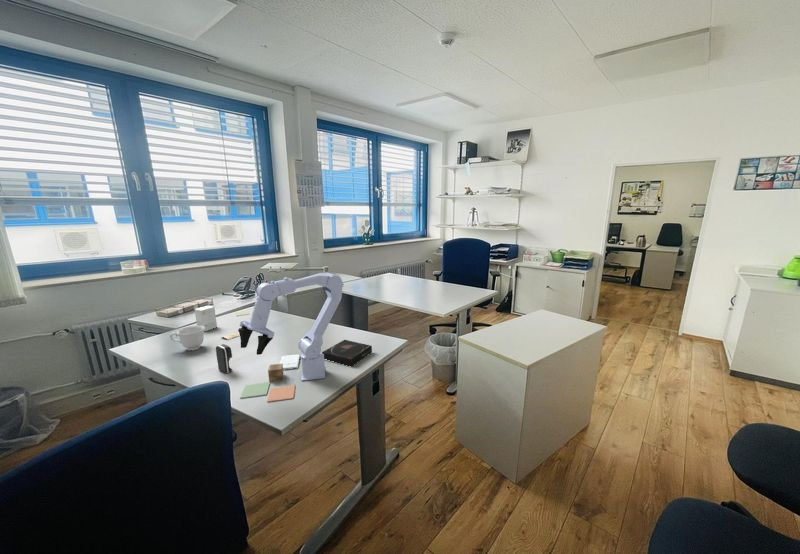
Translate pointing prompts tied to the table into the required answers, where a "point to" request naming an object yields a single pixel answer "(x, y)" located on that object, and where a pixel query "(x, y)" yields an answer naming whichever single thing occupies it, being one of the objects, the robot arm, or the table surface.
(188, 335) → the teacup
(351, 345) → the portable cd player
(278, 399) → the mat
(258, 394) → the mat
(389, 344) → the table surface
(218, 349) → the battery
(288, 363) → the external hard drive
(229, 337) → the wooden plank
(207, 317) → the small box
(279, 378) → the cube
